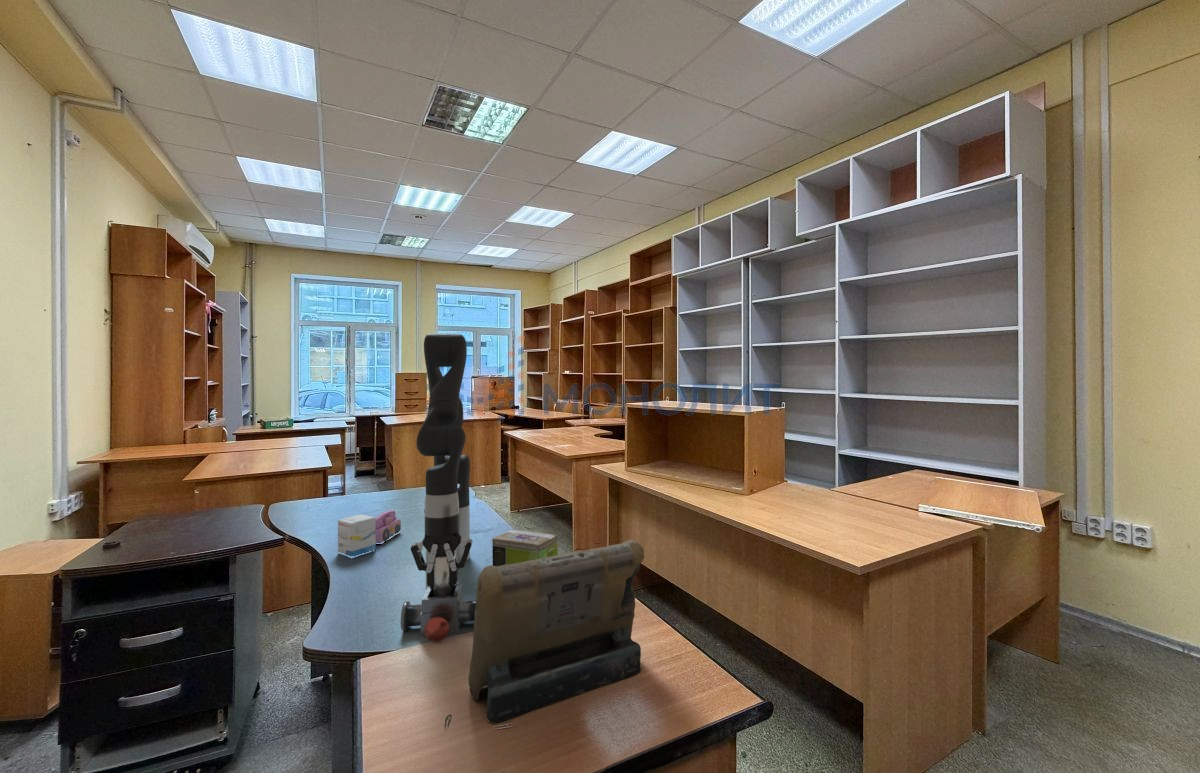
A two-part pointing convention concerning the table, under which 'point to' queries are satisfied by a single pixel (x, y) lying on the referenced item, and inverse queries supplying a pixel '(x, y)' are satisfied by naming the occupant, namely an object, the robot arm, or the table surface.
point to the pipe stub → (441, 577)
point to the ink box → (356, 535)
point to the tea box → (522, 547)
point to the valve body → (438, 614)
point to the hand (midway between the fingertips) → (442, 586)
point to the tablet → (554, 628)
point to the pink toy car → (386, 526)
